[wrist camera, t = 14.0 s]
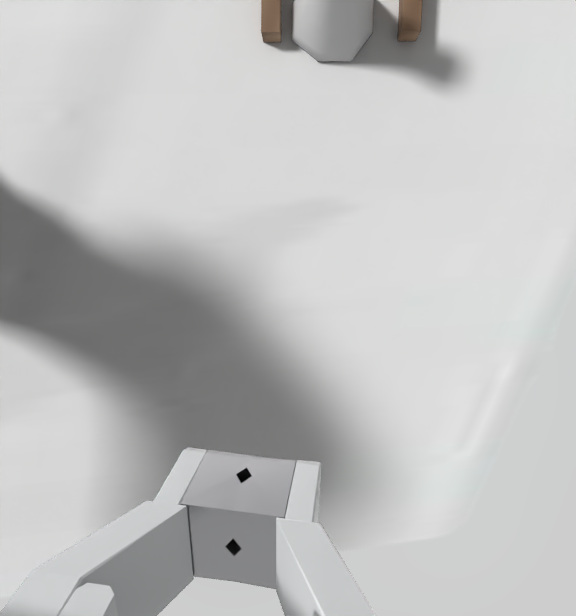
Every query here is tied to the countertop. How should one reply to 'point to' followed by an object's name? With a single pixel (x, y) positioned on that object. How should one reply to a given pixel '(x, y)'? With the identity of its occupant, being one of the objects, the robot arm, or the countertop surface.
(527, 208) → the countertop surface
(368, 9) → the flask
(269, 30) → the dock
